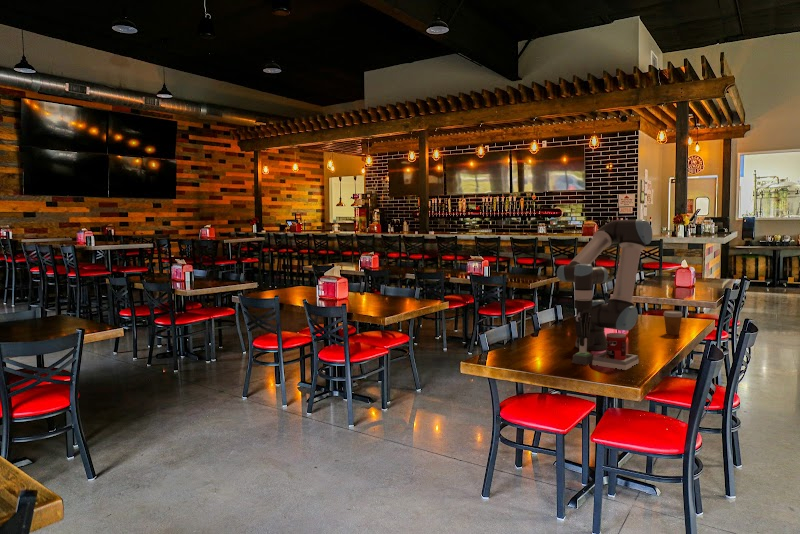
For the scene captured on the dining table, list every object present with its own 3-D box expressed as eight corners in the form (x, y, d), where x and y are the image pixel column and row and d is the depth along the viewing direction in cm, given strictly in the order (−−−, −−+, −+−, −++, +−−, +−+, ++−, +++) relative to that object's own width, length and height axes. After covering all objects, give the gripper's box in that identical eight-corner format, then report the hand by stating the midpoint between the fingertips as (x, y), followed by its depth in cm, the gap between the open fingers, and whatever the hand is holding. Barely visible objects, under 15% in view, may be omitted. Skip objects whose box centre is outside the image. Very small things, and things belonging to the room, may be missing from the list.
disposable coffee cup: (686, 334, 308) (686, 312, 308) (676, 336, 303) (676, 314, 302) (669, 331, 316) (669, 310, 315) (659, 333, 311) (659, 311, 310)
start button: (580, 358, 256) (580, 351, 256) (590, 359, 253) (590, 353, 253) (575, 360, 253) (575, 353, 252) (585, 361, 249) (585, 355, 249)
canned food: (603, 357, 253) (603, 333, 252) (621, 357, 253) (622, 332, 252) (609, 361, 245) (610, 336, 244) (628, 361, 245) (628, 336, 244)
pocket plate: (606, 358, 259) (606, 350, 259) (638, 363, 250) (638, 355, 249) (592, 364, 249) (592, 356, 248) (625, 370, 239) (625, 361, 239)
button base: (579, 359, 258) (579, 352, 258) (594, 362, 253) (594, 354, 253) (571, 362, 253) (571, 355, 252) (587, 365, 248) (587, 357, 248)
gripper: (581, 297, 258) (581, 348, 260) (568, 300, 248) (568, 354, 250) (598, 298, 253) (597, 351, 255) (584, 301, 243) (584, 356, 245)
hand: (583, 352), depth 253 cm, fingers closed
